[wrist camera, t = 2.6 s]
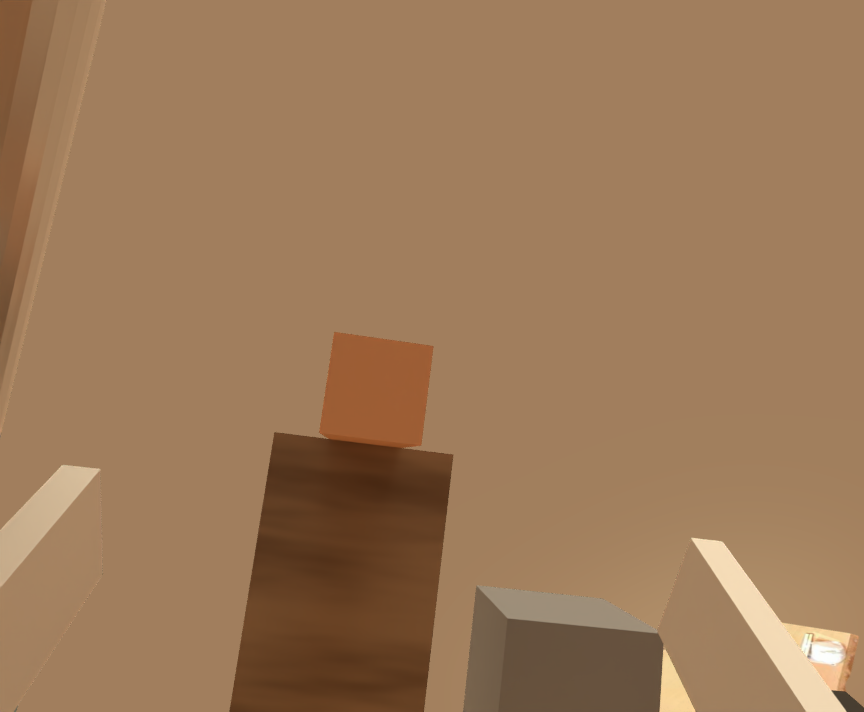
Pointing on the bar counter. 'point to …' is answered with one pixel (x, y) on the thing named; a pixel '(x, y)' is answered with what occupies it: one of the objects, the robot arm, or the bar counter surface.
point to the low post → (559, 655)
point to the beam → (376, 391)
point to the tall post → (343, 579)
